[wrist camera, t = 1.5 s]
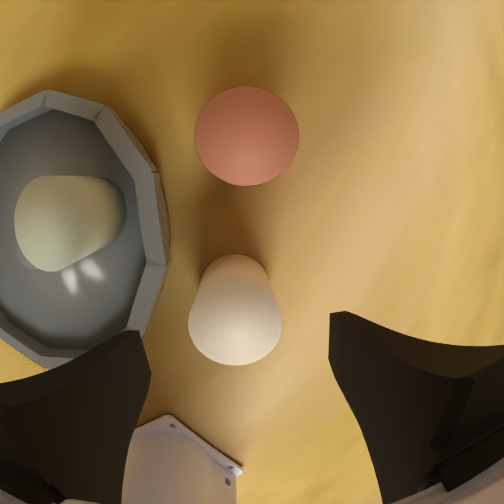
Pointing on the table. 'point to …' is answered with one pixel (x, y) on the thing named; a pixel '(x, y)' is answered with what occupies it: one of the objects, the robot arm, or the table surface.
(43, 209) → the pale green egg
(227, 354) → the bead
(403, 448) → the robot arm
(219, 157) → the bead
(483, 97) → the table surface
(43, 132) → the groove tray
